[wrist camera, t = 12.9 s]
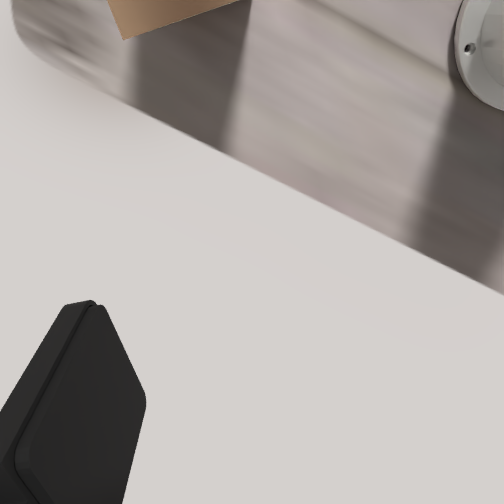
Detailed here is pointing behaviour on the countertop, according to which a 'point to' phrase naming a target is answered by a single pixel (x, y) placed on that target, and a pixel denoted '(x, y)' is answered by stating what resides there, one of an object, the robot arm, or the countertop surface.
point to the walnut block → (156, 13)
